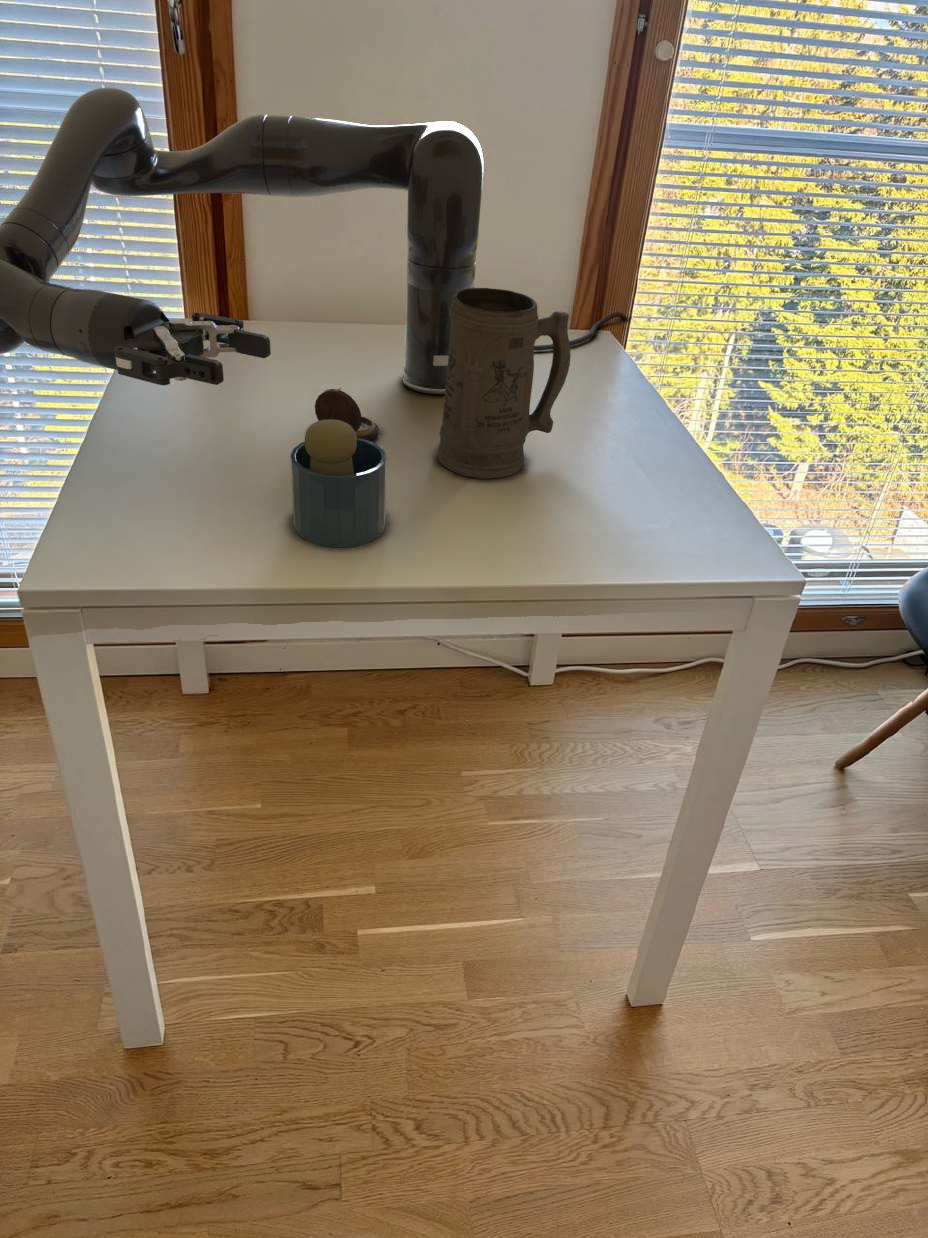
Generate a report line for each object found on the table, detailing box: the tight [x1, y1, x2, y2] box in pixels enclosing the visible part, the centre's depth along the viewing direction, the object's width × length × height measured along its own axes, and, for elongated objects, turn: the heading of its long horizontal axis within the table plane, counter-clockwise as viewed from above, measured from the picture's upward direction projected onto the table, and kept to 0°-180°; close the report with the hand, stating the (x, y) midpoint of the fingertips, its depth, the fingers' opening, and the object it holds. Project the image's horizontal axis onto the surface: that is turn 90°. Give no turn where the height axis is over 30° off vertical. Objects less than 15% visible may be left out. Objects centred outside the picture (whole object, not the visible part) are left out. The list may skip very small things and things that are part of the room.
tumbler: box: [289, 438, 388, 548], centre depth 94 cm, size 10×10×8 cm
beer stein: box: [437, 287, 572, 479], centre depth 107 cm, size 15×11×20 cm
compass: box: [314, 387, 379, 441], centre depth 113 cm, size 8×8×7 cm
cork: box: [303, 419, 357, 475], centre depth 92 cm, size 6×6×11 cm
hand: (245, 359), depth 90 cm, fingers open, 8 cm apart
